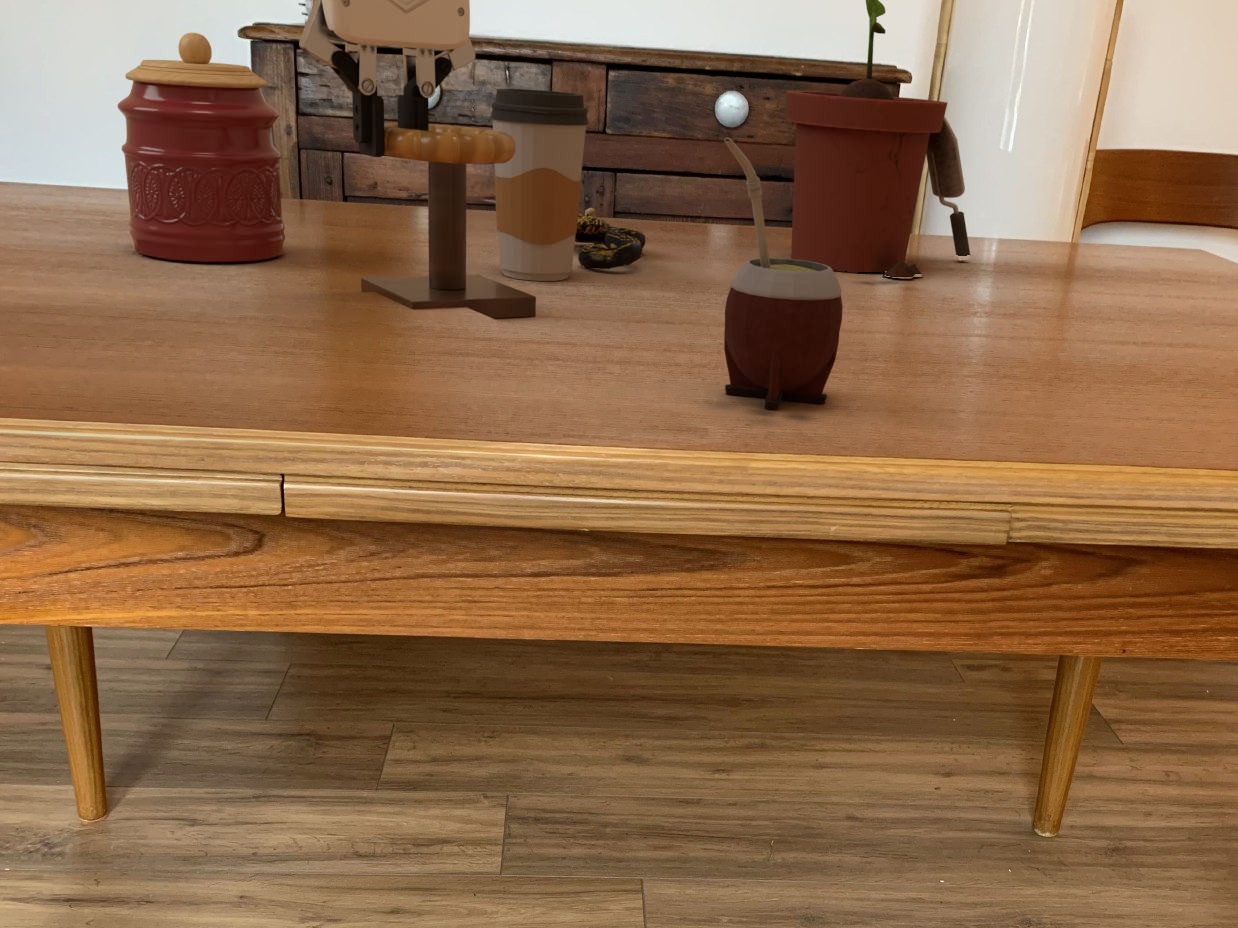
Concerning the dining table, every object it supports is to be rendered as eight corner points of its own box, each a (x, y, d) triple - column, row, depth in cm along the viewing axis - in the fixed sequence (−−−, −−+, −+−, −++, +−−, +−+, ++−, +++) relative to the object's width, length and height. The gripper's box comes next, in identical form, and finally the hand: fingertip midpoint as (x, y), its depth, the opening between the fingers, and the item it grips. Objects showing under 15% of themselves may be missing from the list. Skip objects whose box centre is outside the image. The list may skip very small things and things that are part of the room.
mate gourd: (834, 390, 86) (864, 140, 80) (828, 420, 79) (860, 148, 73) (719, 379, 87) (739, 130, 81) (702, 407, 80) (723, 137, 73)
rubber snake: (636, 216, 120) (526, 217, 122) (637, 270, 122) (529, 270, 123) (660, 204, 137) (564, 204, 138) (661, 251, 139) (566, 251, 140)
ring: (405, 163, 92) (405, 131, 91) (348, 148, 99) (348, 119, 99) (539, 167, 97) (541, 137, 96) (476, 153, 105) (476, 125, 104)
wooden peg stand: (412, 322, 97) (410, 153, 92) (361, 297, 104) (356, 139, 99) (536, 316, 102) (539, 155, 97) (478, 293, 109) (479, 142, 105)
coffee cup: (574, 268, 124) (581, 92, 118) (589, 284, 117) (597, 97, 110) (484, 265, 122) (485, 86, 116) (493, 281, 115) (495, 91, 108)
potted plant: (770, 246, 147) (793, -9, 137) (968, 260, 146) (1007, 6, 136) (770, 270, 131) (797, -17, 120) (993, 287, 130) (1040, 0, 120)
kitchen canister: (184, 269, 111) (164, 32, 103) (102, 246, 118) (79, 24, 111) (315, 258, 120) (306, 40, 112) (232, 238, 127) (218, 32, 120)
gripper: (286, -164, 82) (299, 159, 89) (521, -129, 90) (515, 163, 98) (247, -155, 87) (263, 148, 95) (473, -123, 96) (470, 153, 103)
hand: (391, 153), depth 96 cm, fingers closed on ring, 2 cm apart
